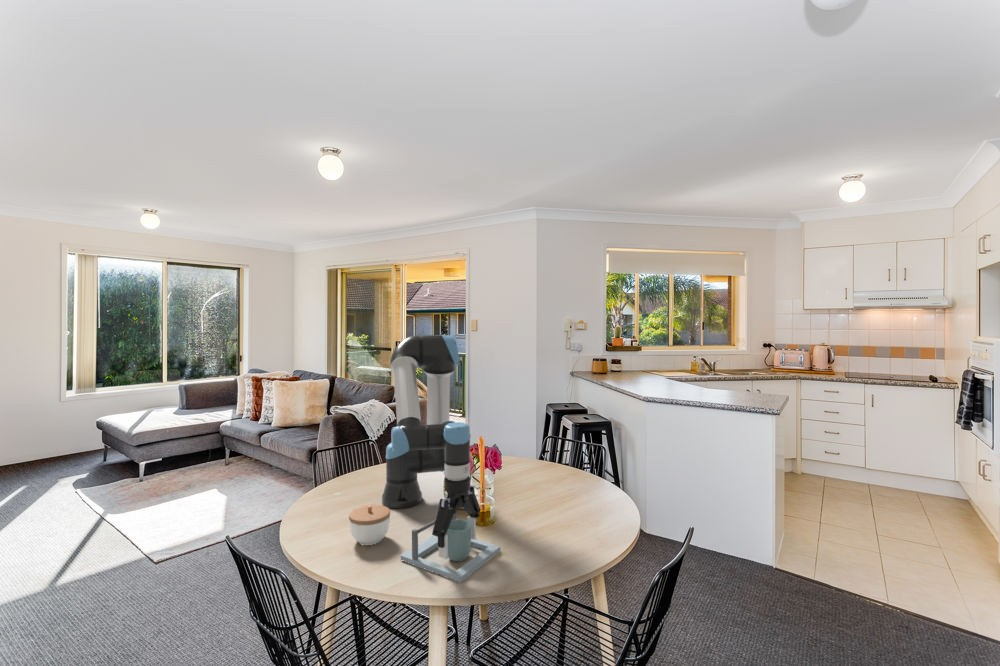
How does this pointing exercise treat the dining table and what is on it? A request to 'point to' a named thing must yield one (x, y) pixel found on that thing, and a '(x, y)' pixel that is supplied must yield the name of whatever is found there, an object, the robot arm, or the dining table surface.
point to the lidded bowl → (369, 523)
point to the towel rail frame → (459, 575)
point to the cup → (459, 539)
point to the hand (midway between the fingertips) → (457, 547)
